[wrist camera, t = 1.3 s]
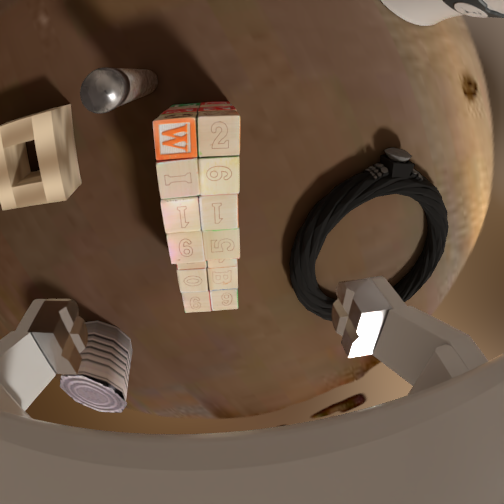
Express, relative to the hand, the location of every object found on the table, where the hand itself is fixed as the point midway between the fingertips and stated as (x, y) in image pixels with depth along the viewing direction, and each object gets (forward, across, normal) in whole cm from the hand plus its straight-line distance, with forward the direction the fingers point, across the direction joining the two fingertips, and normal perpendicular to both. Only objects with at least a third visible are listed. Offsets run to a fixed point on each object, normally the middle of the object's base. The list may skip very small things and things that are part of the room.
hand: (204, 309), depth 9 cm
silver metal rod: (+26, +7, -8) cm, 28 cm away
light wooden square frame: (+26, +21, -2) cm, 34 cm away
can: (+29, +22, +32) cm, 48 cm away
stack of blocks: (+28, +1, +5) cm, 28 cm away
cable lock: (+29, -24, +15) cm, 40 cm away
